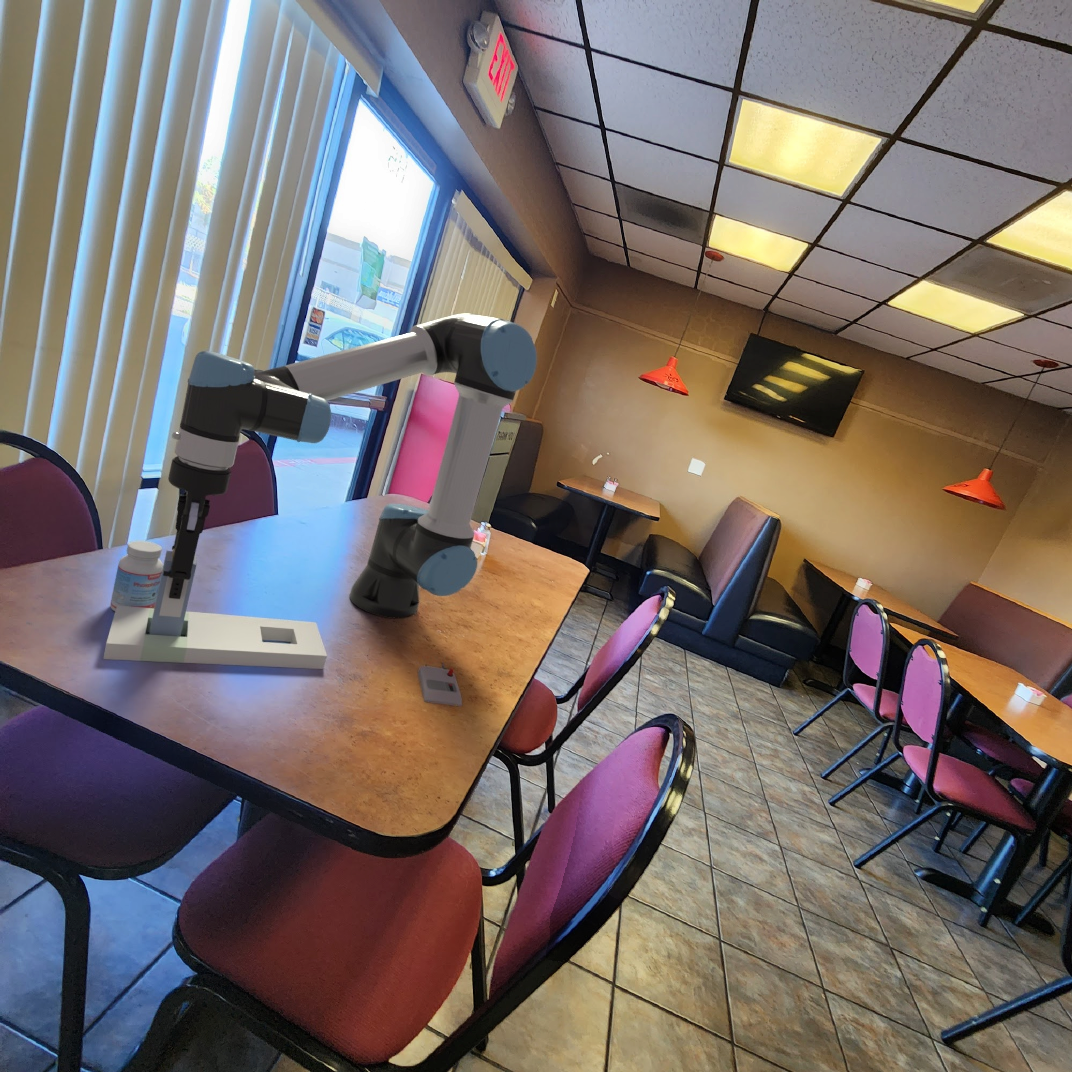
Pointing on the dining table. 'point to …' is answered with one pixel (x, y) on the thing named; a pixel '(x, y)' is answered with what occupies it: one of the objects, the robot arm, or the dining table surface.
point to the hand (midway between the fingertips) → (170, 607)
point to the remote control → (439, 685)
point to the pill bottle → (138, 576)
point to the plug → (161, 623)
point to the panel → (216, 640)
